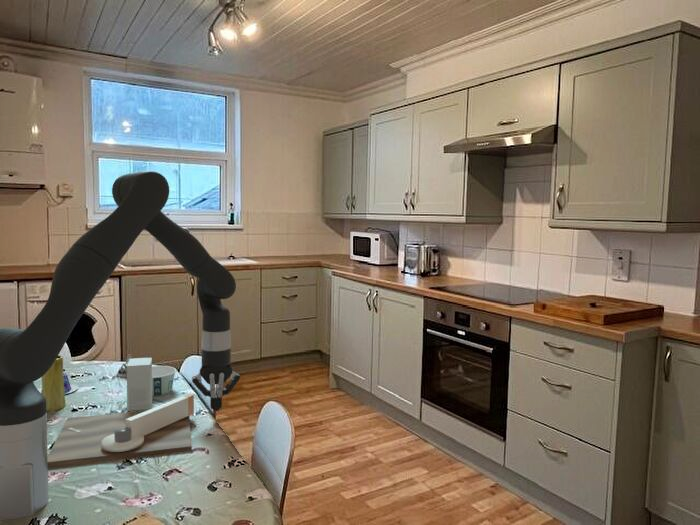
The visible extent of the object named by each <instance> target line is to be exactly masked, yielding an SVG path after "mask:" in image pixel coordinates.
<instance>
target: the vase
mask: <svg viewBox="0 0 700 525" xmlns="http://www.w3.org/2000/svg"><path fill="white" fill-rule="evenodd" d="M63 373H64V357H63V355H60V354H59V355H58V356H57V358H56V360H55V361H54V363H53V365H52V366H51V367H50V369H49V370H48V371H47V372H46V373H45V374H44V375H43V376H42V377H41V387H42V393H41V394H42V395H43V396H44V397H45V399H46V409H47V411H46V412H51V411H53V412H54V411H57V410H61V409H64V408H65V407H66V396H65V395H66V394H65V393H64V376H63Z"/></svg>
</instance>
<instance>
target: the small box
mask: <svg viewBox="0 0 700 525" xmlns="http://www.w3.org/2000/svg"><path fill="white" fill-rule="evenodd" d="M152 366H153V357H136V358H132V359H128V364H126V368H127V377H126V406H127V408H126V409H127V410H126V411H127V412H128V411H130V412H131V411H132V412H133V411H142V410H150V409H152V405H153V396H152Z"/></svg>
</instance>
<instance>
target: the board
mask: <svg viewBox="0 0 700 525" xmlns="http://www.w3.org/2000/svg"><path fill="white" fill-rule="evenodd" d="M145 411H146V410H145ZM145 411H142V410H141V411H132V412H131V411H130V412H121V413H111V414H100V415H99V414H97V415H87V416H76V417H68V418H66V421H65V422H64V424H63V425H62V428H61V430H60V433H58V436H57V438H56V440H55V442H54V444H52V445H53V446H52V448H51V449H50V451H49V454H48V469H50V468H59V467H67V466H74V465H75V466H76V465H82V464H92V463H101V462H107V461H108V462H109V461H119V460H125V459H133V458H143V457H150V456H151V457H152V456H158V455H160V456H161V455H167V454H168V455H169V454H174V453H175V454H176V453H185V452H192V447H193V446H192V436H191V434H192V433H191V423H190V416H187V417H185V418H182V419H180V420H178V421H176V422H174V423H171V424H169V425H167V426H165V427H162V428H160V429H158V430H156V431H154V432H151V433H149V434H147V435H145V436H144V443H143V444H142V445H141V446H139V447H137V448H135V449H132V450H129V451H124V452H108V451H105V450H103V449H102V440H103V439H104V438H105V437H107V436H109V435H112V434H114V431H115V430H116V429H118V428H121V427H126V422H125V419H127V418H130V417H132V416H135V415H137V414H140V413H142V412H145Z"/></svg>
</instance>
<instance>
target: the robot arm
mask: <svg viewBox="0 0 700 525" xmlns="http://www.w3.org/2000/svg"><path fill="white" fill-rule="evenodd" d="M111 195H112V198H113V200H114V203H115V204H116V205H117V207H116V208H115V210H114V211H112V213H110V214H109V215H108V216H107V217H105V218H104V219H102V220H101V221H100V222H98V223H97V224H96V225H94V226H93V227H91V228H90V229H88V230H87V231H86V232H85V233H83V234H82V235H81V236H80V237H79V238H78V239H77V240H76V241H75V242H73V244H72V245H71V246H70V248H69V249H68V250H67V251H66V252H65V254H64V255H63V256H62V258H61V259H60V261H59V262H58V264H57V265H56V267H55V269H54V273H53V275H52V281H51V284H50V290H49V295H48V298H47V300H46V302H45V304H44V306H43V308H42V309H41V310H40V311H39V313H38V314H37V315H36V316H35V318H34V319H33V321H32V322H31V323H30V324H28V326H27V327H26V328H25V329H22V328H15V327H3V328H0V521H6V520H8V521H9V520H14V519H21V518H27V517H33V516H34V515H35V513H37V512H39V511H40V510H42V509H43V508H45V506H46V505H47V504H48V503H49V501H50V500H49V497H50V496H49V494H50V493H49V468H48V455H49V454H48V452H49V451H48V420H47V419H48V413H47V412H48V411H47V409H46V399H45V397H44V396H43V395H42V393H40V392H39V391H38V388H37V387H36V385H35V383H34V382H36V381H38V380H39V379H42V376H43V375H44V374H45V373H46V372H47V371H48V370H49V369H50V367H51V366H52V365H53V363H54V361H55V360H56V358H57V356H58V355H60V353H61V352H62V349H63V347H64V346H65V344H66V343H67V340H68V338H69V337H70V335H71V333H72V331H74V328H75V326H76V325H77V323H78V322H79V320H80V319H81V317H82V315H84V313H85V312H86V310H87V309H88V307H90V304H91V303H92V301H93V300H94V299H95V297H96V295H97V294H98V293H99V292H100V290H102V288H103V287H104V286H105V284H106V282H107V281H108V280H109V278H110V277H111V276H112V274H113V273H114V272H115V270H116V268H117V266H118V265H119V263H120V262H121V261H122V259H123V258H124V257H125V255H126V254H127V253H128V252H129V250H130V248H131V247H132V246H133V244H134V243H135V242H136V240H137V239H138V237H140V234H142V232H143V231H144V230H145V231H146V232H148V233H149V234H150V235H151V236H153V237H154V238H155V239H156V240H157V241H158V242H159V244H161V245H162V246H163V247H164V248H165V249H166V250H167V251H168V252H169V253H170V254H171V255H172V256H173V257H174V259H175V260H176V261H177V262H178V263H179V265H180V266H181V267H182V268H183V269H184V270H185V271H186V272H187V273H188V275H190V276H192V277H195V278H197V281H196V293H197V298H198V302H199V306H200V309H201V310H200V311H201V313H202V331H201V344H200V346H201V367H200V369H199V372H198V374H196V375H193V376H191V383H193V385H194V386H195V387H196V388H197V389H198V390H199V392H201V393H202V394H203V396H205V397H209V398H210V400H209V401H210V409H211V410H212V411H213V412H218V411H220V409H222V406H223V405H222V404H223V402H222V401H223V400H222V399H223V396H226V395H229V394H230V393H231V391H232V389H233V388H234V387H235V386H236V384H237V383H238V382H239V380H240V379H241V376H240V374H239V372H235V371H234V369H233V367H232V365H231V364H232V362H231V361H232V336H231V312H230V309H229V308H227V307H226V306H224V305H223V304H222V300H227V299H229V298H231V297H232V296H234V294H235V293H236V289H237V283H236V279H235V278H234V276H233V275H232V273H231V272H230V271H229V270H228V269H227V268H226V267H224V266H223V265H222V264H221V263H220V262H219V261H217V260H216V259H214V257H212V256H211V255H210V253H209V252H208V250H206V248H205V247H204V246H203V244H202V243H201V242H200V241H199V239H197V238H196V237H195V236H194V235H193V234H192V233H190V232H189V231H188V230H187V229H186V228H183V227H182V226H181V225H179V224H178V223H176V222H174V221H173V220H172V219H171V218H169V217H168V216H167V215H166V214H164V212H162V209H163V208H164V207H165V206H166V204H167V202H168V199H169V196H170V185H169V182H168V179H167V178H166V177H165V176H164V175H163V174H161V173H160V172H158V171H154V170H142V171H137V172H131V173H125V174H122V175H121V176H118V178H116V179H115V180H114V182H113V184H112V188H111ZM229 378H230V380H229V381H228V382H227V380H228V379H229ZM202 379H203V380H204V381H205V383H206V384H208V385H209V389H208V388H207V387H206V386H205V385H204V384H203V382H202V381H203V380H202ZM226 382H227V384H226V385H225V386H224V384H225V383H226ZM216 386H217V387H216Z"/></svg>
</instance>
